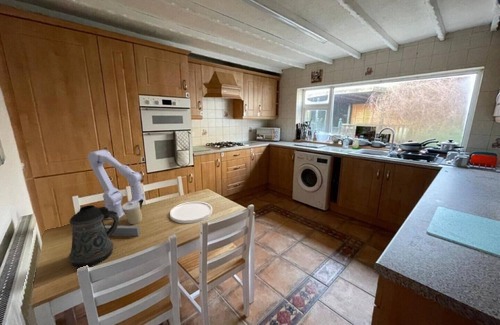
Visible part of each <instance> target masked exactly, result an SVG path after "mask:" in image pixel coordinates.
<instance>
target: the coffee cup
mask: <svg viewBox="0 0 500 325" xmlns="http://www.w3.org/2000/svg"><path fill="white" fill-rule="evenodd" d="M132 201H136V200H132ZM130 202H131V200H129V201H126V202H125V203H123V205H122V212H124V213H125V214H124V215H125V217H126V220H127V222H128V223H129V224H131V225H136V224H138V223H140V222H141V221H142V220H143V215H142V208H141V209H140V203H139V202H138V201H136V202H135V203H134V204H133V205H129V203H130Z"/></svg>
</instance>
